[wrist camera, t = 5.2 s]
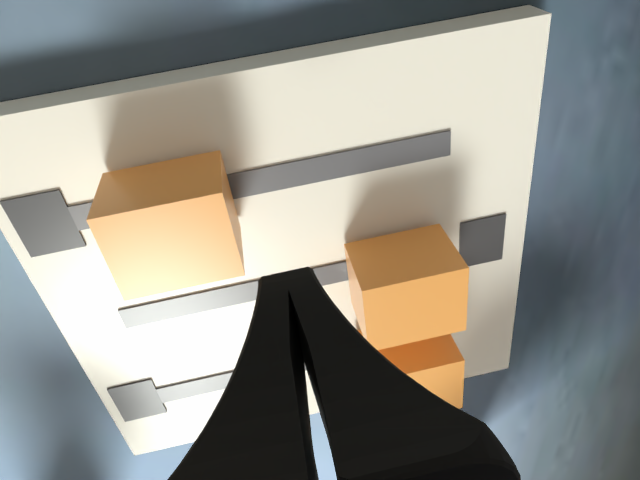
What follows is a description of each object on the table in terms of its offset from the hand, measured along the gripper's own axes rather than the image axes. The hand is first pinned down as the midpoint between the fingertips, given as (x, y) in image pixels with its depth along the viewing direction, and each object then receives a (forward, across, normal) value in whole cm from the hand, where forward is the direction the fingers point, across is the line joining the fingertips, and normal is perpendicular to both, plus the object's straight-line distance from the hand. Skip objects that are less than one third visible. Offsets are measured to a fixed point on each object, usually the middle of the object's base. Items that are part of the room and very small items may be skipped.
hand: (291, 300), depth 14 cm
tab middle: (+7, -5, +5) cm, 9 cm away
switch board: (+8, 0, +5) cm, 10 cm away
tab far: (+7, -5, +10) cm, 13 cm away
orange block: (+6, +3, 0) cm, 7 cm away
